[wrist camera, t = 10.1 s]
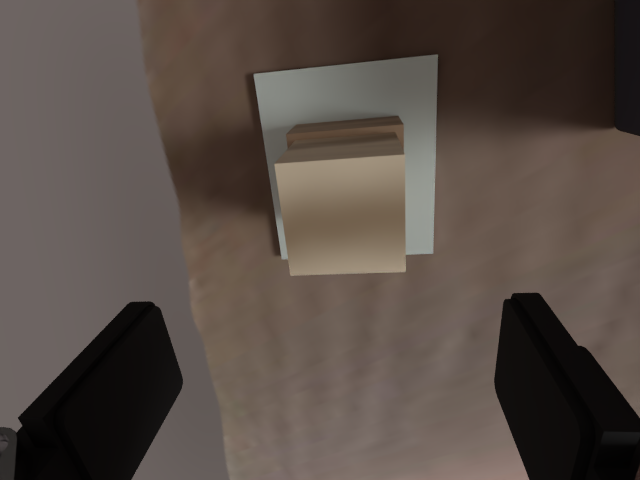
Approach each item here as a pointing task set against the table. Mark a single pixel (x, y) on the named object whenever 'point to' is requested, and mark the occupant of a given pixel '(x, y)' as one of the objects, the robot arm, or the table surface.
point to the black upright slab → (627, 66)
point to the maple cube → (343, 204)
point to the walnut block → (347, 129)
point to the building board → (360, 103)
